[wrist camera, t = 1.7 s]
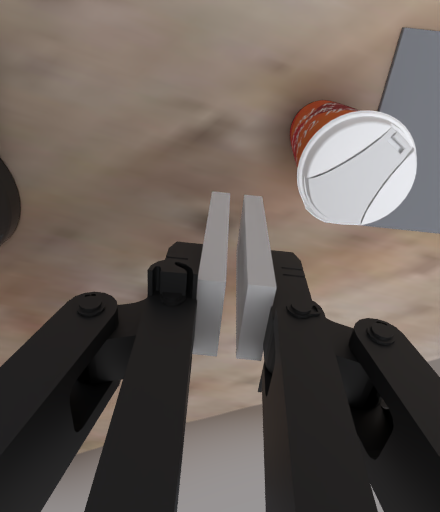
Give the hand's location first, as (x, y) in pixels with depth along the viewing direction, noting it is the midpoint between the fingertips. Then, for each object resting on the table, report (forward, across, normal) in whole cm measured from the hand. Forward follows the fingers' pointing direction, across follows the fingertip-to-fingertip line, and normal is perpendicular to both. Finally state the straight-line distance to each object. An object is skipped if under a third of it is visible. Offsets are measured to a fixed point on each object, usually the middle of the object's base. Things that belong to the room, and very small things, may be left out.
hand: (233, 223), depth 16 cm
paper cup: (+23, +8, 0) cm, 24 cm away
